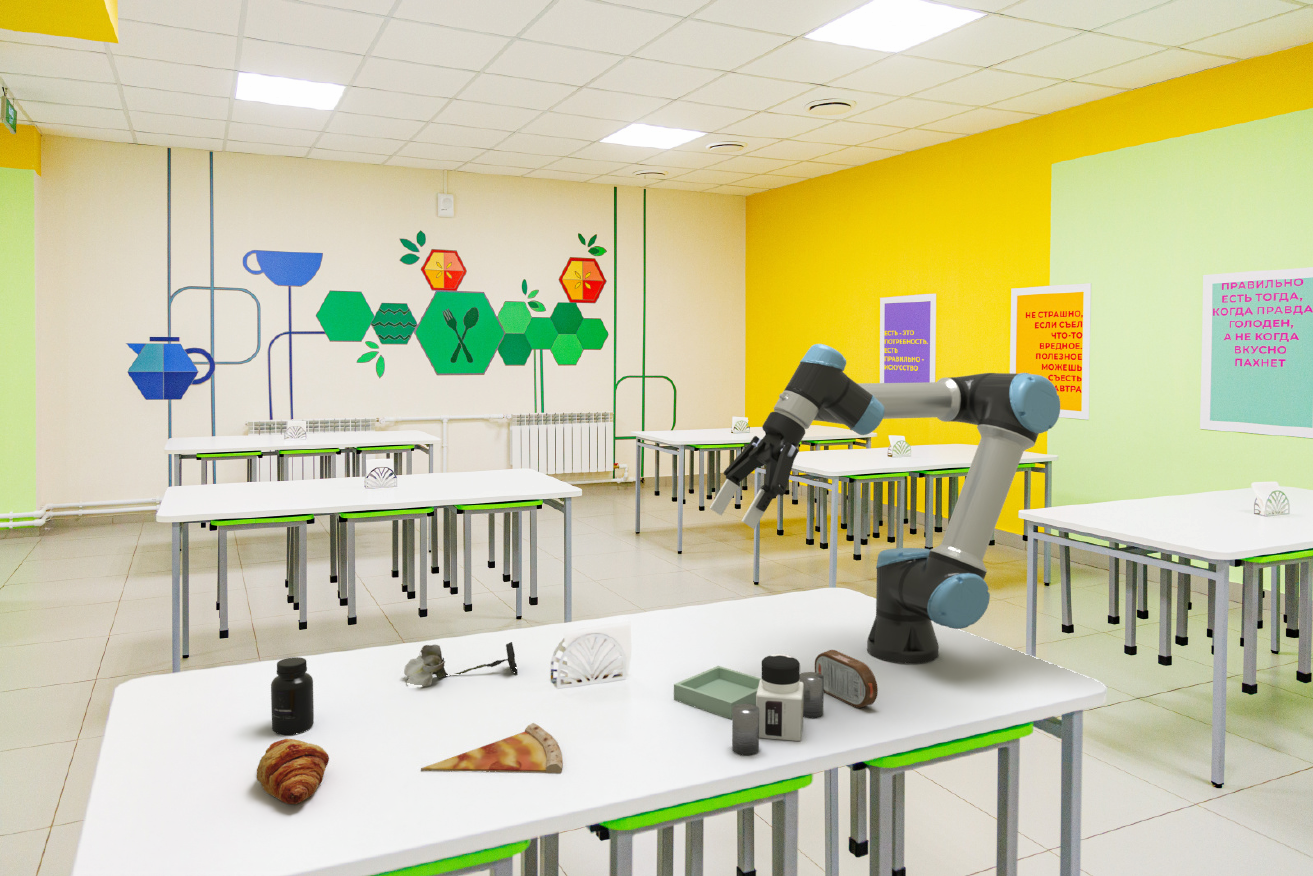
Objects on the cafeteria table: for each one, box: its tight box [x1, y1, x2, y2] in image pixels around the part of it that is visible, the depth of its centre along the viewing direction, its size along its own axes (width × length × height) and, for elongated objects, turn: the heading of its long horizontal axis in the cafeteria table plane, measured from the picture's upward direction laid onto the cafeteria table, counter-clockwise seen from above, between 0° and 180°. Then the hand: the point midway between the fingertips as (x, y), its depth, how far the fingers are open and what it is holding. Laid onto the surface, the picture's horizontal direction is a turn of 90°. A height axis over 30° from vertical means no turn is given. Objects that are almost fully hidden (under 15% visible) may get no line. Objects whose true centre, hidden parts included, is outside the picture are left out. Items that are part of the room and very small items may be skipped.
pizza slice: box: [420, 722, 564, 774], centre depth 146 cm, size 16×22×2 cm
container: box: [756, 653, 804, 742], centre depth 153 cm, size 8×8×13 cm
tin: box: [814, 649, 879, 709], centre depth 167 cm, size 15×3×8 cm, turn 31°
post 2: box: [800, 671, 825, 720], centre depth 160 cm, size 4×4×7 cm
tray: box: [673, 665, 761, 720], centre depth 167 cm, size 14×14×3 cm
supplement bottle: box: [270, 656, 315, 736], centre depth 154 cm, size 7×7×12 cm
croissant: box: [256, 738, 330, 805], centre depth 135 cm, size 21×10×8 cm, turn 28°
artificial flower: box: [404, 641, 518, 687], centre depth 178 cm, size 9×22×10 cm, turn 103°
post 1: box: [731, 704, 760, 757], centre depth 145 cm, size 4×4×7 cm
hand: (730, 518), depth 162 cm, fingers open, 13 cm apart
